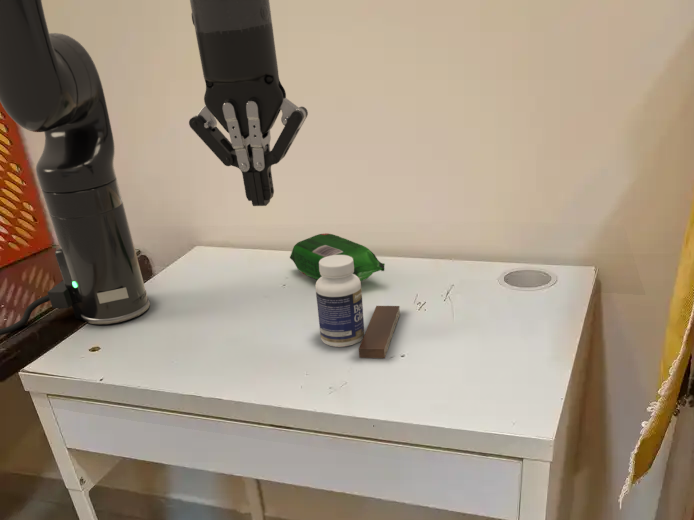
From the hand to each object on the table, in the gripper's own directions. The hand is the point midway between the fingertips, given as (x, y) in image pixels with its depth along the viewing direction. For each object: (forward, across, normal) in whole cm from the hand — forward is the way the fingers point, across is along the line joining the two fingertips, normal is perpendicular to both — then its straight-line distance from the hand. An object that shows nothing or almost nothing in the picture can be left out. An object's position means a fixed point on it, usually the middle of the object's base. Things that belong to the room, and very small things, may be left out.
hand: (261, 203), depth 80 cm
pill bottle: (+16, -8, 0) cm, 18 cm away
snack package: (+16, -3, -19) cm, 25 cm away
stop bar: (+16, -12, -1) cm, 20 cm away
